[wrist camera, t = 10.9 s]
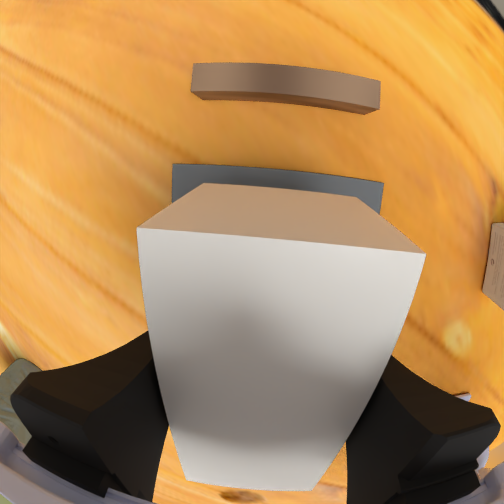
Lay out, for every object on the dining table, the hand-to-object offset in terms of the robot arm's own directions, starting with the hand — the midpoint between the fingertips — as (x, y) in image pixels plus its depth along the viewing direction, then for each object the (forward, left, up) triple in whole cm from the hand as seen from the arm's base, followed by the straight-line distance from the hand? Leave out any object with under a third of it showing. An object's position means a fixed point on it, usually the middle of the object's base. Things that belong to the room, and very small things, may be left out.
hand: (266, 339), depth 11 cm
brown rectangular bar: (0, -10, -7) cm, 13 cm away
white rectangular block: (0, 0, -2) cm, 2 cm away
